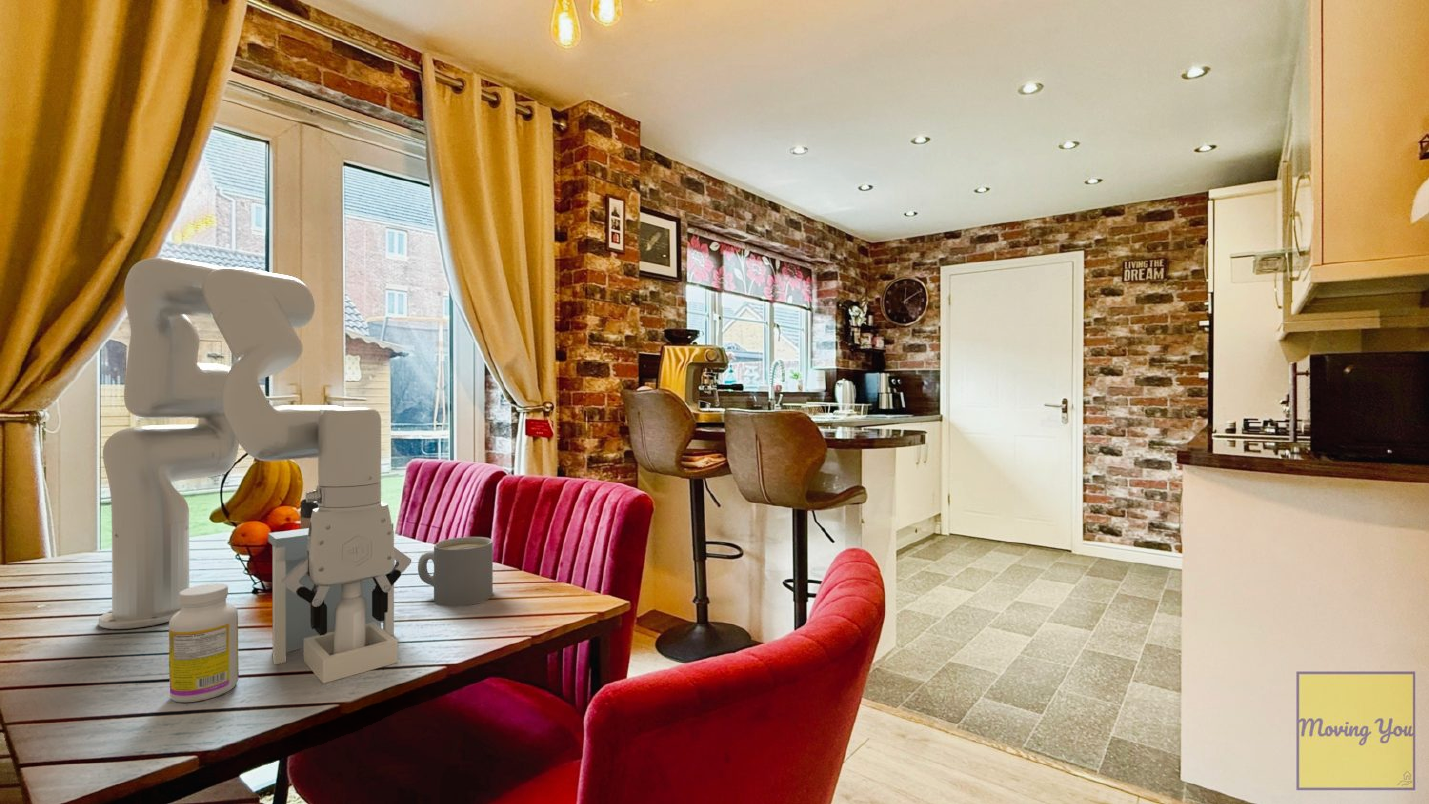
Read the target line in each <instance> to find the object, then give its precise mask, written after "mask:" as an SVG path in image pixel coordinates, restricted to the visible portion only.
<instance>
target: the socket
mask: <svg viewBox="0 0 1429 804" xmlns="http://www.w3.org/2000/svg"><path fill="white" fill-rule="evenodd" d="M303 661H304V663H305V664H306V665H307V666H308V667H309V669H310V668H311V672H313V674H314V675H315V676H316V677H317V678H318V679H319V681H320V682H321V683H322V684H326V683H330V682H333V681H337V680H340V679H344V678H348V677H351V676H355V675H358V674H361V673H366V672H368V671H369V672H370V671H372V670H376V669H379V668H383V667H386V666H390V665H394V664H396V663H397V664H398V663H399V640H398V639H396V638H395V637H394V636H393V635H390V634H389V633H387V632H386V631H385V630H384V629H383V627H382V626H381V627H380V626H379V625H377V624H376V623H375V622H372V623H368V624H365V647H361V648H358V649H354V650H350V651H346V652H342V653H338V654H334V632H329V633H326V634H325V635H322V636H320V635H317V636H312V637H308V638H304V648H303Z"/></svg>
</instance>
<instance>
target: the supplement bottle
mask: <svg viewBox="0 0 1429 804" xmlns="http://www.w3.org/2000/svg"><path fill="white" fill-rule="evenodd" d="M228 595H229V587H228V584H226V583H208V584H200V585H196V586H191V587H189V588H187V589H185V590H182V591H181V592H180V593H179V603H180V605H181V606H182V610H181V611H179V612H178V613H176V614H175V615H174V616H173V617H172V618H171V620H170V622H168V647H169V648H168V656H169V657H168V663H169V668H168V669H169V670H168V671H169V672H168V673H169V696H170V698H171V700H173V701H174V702H177V703H195V702H202V701H205V700H209V699H213V698H215V697H219V696H221V695H224V694H225V693H227V692H229V691H230V690H232V689H233V688H234V687H236V685H237V684H238V682H239V672H240V671H239V611H238V610H239V609H238V608H237V607H236V606H235V605H234V604H232V603H229V602H227V598H228Z"/></svg>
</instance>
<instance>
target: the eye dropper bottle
mask: <svg viewBox="0 0 1429 804" xmlns="http://www.w3.org/2000/svg"><path fill="white" fill-rule="evenodd" d="M361 586H362V581H361V580H359V581H354V582H349V583H343V584H341V597H342V598H341V599H340V601H339V602H338V603H337V605H336V608H335V625H334V654H338V653H342V652H346V651H350V650H354V649H358V648H361V647H365V623H366V600H365V598H364V597H362V596H360V595H361Z"/></svg>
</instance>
